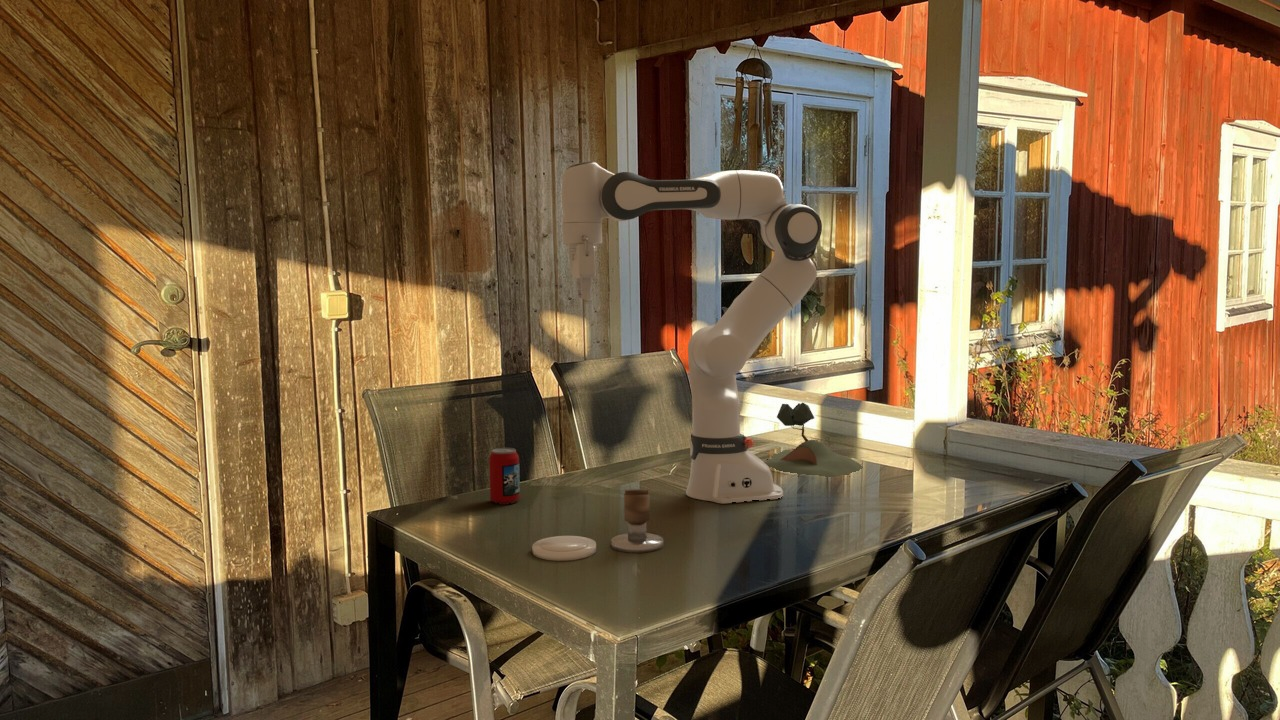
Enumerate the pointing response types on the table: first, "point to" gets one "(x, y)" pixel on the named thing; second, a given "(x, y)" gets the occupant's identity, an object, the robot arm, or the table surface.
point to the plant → (809, 450)
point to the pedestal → (637, 540)
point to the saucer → (564, 548)
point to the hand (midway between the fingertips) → (583, 298)
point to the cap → (636, 505)
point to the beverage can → (504, 476)
